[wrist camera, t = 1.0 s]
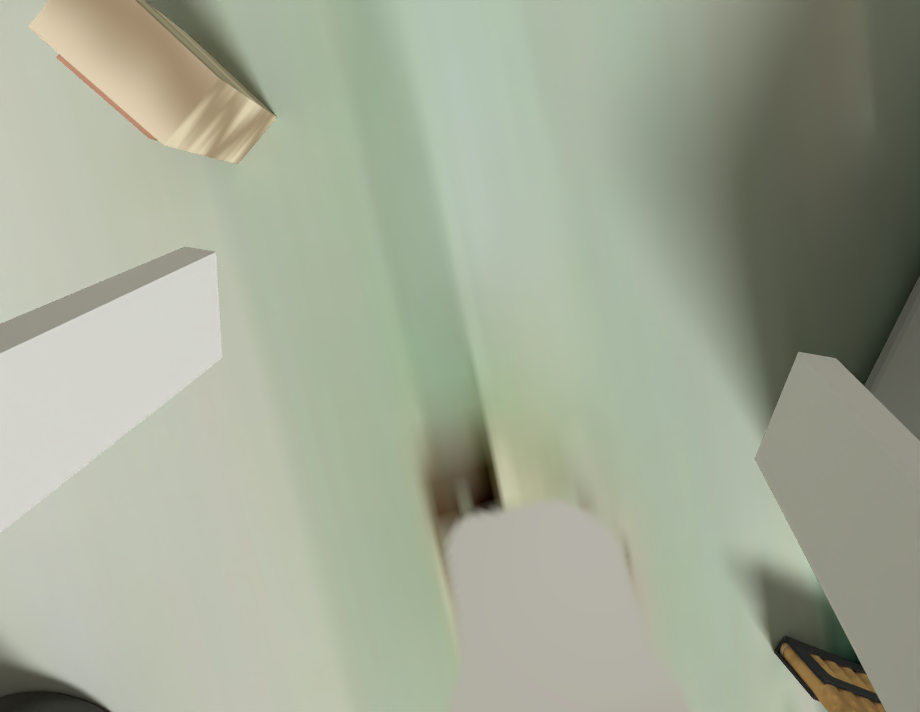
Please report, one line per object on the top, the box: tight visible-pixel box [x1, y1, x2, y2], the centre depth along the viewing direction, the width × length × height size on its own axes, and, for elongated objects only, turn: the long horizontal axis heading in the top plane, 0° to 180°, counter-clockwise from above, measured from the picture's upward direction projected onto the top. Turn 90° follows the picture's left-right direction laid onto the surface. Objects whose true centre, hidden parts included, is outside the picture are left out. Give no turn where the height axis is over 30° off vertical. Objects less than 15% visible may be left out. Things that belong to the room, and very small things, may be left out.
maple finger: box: [29, 0, 277, 164], centre depth 32 cm, size 4×7×12 cm, turn 47°
